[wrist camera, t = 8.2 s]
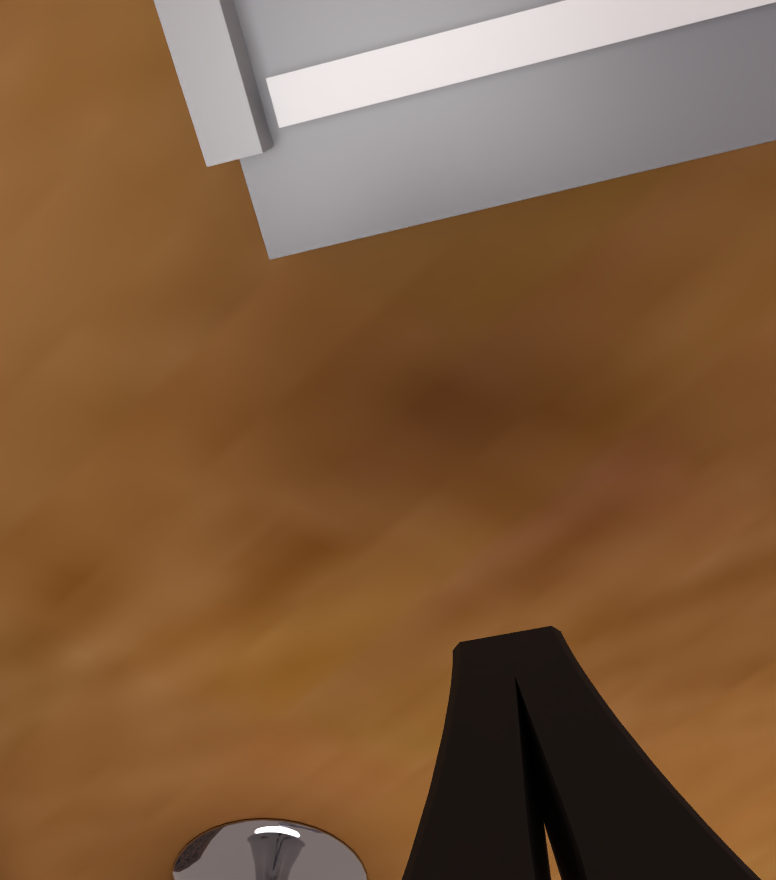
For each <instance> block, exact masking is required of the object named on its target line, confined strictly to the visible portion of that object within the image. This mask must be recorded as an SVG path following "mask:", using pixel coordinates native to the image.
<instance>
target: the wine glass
mask: <svg viewBox="0 0 776 880" xmlns="http://www.w3.org/2000/svg"><path fill="white" fill-rule="evenodd" d="M172 880H368V878H367V873H366V870H365V868H364V866H363V863H362V862H361V860H360V859H359V858H358V856H357V855H356V854H355V852H354V851H353V850H351V849H350V848H349V847H348V846H347V845H346V844H345V843H344V842H342V841H340V840H339V839H337V838H336V837H334V836H332V835H331V834H329V833H326V832H324V831H322V830H320V829H317V828H315V827H312V826H308V825H305V824H301V823H297V822H291V821H286V820H276V819H252V820H242V821H237V822H232V823H227V824H224V825H221V826H218V827H215V828H212V829H210V830H208V831H206V832H204V833H202V834H200V835H199V836H197V837H196V838H195V839H193V840H192V841H191V842H189V843H188V844H187V845H186V846H185V847H184V848H183V850H182V851H181V852H180V853H179V855H178V857H177V859H176V861H175V862H174V866H173V870H172Z"/></svg>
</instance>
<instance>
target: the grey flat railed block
mask: <svg viewBox="0 0 776 880" xmlns="http://www.w3.org/2000/svg"><path fill="white" fill-rule="evenodd" d="M154 3H155V6H156V9H157V12H158V15H159V18H160V22H161V25H162V28H163V31H164V34H165V37H166V40H167V43H168V47H169V50H170V53H171V56H172V59H173V62H174V65H175V69H176V72H177V75H178V78H179V81H180V84H181V87H182V90H183V94H184V97H185V100H186V103H187V106H188V109H189V112H190V115H191V119H192V122H193V125H194V128H195V131H196V134H197V137H198V141H199V144H200V147H201V150H202V153H203V156H204V159H205V162H206V166H207V167H209V166H213V165H217V164H221V163H225V162H229V161H232V160H236V159H239V160H240V163H241V166H242V170H243V173H244V176H245V180H246V183H247V186H248V190H249V193H250V196H251V200H252V203H253V206H254V210H255V213H256V216H257V220H258V223H259V226H260V230H261V233H262V236H263V240H264V243H265V246H266V250H267V253H268V256H269V260H271V259H275V258H279V257H283V256H287V255H292V254H296V253H300V252H304V251H309V250H313V249H317V248H321V247H326V246H330V245H334V244H338V243H342V242H347V241H351V240H355V239H359V238H364V237H368V236H372V235H376V234H381V233H385V232H389V231H393V230H397V229H402V228H406V227H410V226H414V225H419V224H423V223H427V222H431V221H436V220H440V219H444V218H448V217H452V216H457V215H461V214H465V213H469V212H474V211H478V210H482V209H486V208H491V207H495V206H499V205H503V204H507V203H512V202H516V201H520V200H524V199H529V198H533V197H537V196H541V195H545V194H550V193H554V192H558V191H562V190H567V189H571V188H575V187H579V186H584V185H588V184H592V183H596V182H600V181H605V180H609V179H613V178H617V177H622V176H626V175H630V174H634V173H639V172H643V171H647V170H651V169H655V168H660V167H664V166H668V165H672V164H677V163H681V162H685V161H689V160H694V159H698V158H702V157H706V156H710V155H715V154H719V153H723V152H727V151H732V150H736V149H740V148H744V147H748V146H753V145H757V144H761V143H765V142H770V141H774V140H776V0H154Z"/></svg>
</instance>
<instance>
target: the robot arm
mask: <svg viewBox="0 0 776 880" xmlns="http://www.w3.org/2000/svg"><path fill="white" fill-rule="evenodd" d="M544 824H545V827H546V831H547V834H548V837H549V840H550V844H551V847H552V850H553V853H554V857H555V860H556V863H557V866H558V870H559V873H560V876H561V879H562V880H761V879H760V878H759V877H758V876H757V875H756V874H755V873H754V872H753V871H752V870H751V869H750V868H749V867H748V866H747V865H746V864H745V863H744V862H743V861H742V860H741V859H740V858H739V857H738V856H737V855H736V854H735V853H734V852H733V851H732V850H731V849H730V848H729V847H728V846H727V845H726V844H725V843H724V842H723V840H722V839H721V838H720V837H719V836H718V835H717V834H716V833H715V832H714V831H713V830H712V829H711V828H710V827H709V826H708V825H707V823H706V822H705V821H704V820H703V819H702V818H701V817H700V816H699V815H698V813H697V812H696V811H695V810H694V809H693V808H692V807H691V806H690V805H689V803H688V802H687V801H686V800H685V799H684V798H683V797H682V796H681V795H680V793H679V792H678V791H677V790H676V789H675V788H674V787H673V786H672V784H671V783H670V782H669V781H668V780H667V779H666V777H665V776H664V775H663V774H662V773H661V772H660V770H659V769H658V768H657V767H656V766H655V765H654V763H653V762H652V761H651V760H650V758H649V757H648V756H647V755H646V753H645V752H644V751H643V750H642V748H641V747H640V746H639V745H638V744H637V742H636V741H635V740H634V739H633V737H632V736H631V735H630V734H629V732H628V731H627V730H626V729H625V727H624V726H623V725H622V724H621V722H620V721H619V720H618V718H617V717H616V716H615V714H614V713H613V712H612V710H611V709H610V708H609V706H608V705H607V704H606V702H605V701H604V700H603V698H602V697H601V695H600V694H599V693H598V691H597V690H596V688H595V687H594V685H593V684H592V683H591V681H590V680H589V678H588V677H587V675H586V674H585V672H584V671H583V669H582V668H581V666H580V665H579V663H578V661H577V660H576V658H575V657H574V655H573V653H572V652H571V650H570V648H569V646H568V645H567V643H566V641H565V639H564V637H563V635H562V633H561V631H559V630H557V629H556V628H554V627H552V626H548V627H542V628H537V629H531V630H526V631H520V632H514V633H509V634H503V635H498V636H492V637H486V638H481V639H475V640H470V641H464V642H460V643H459V644H458V645H457V646H456V647H455V648H454V650H453V668H452V679H451V688H450V695H449V702H448V708H447V713H446V719H445V724H444V730H443V734H442V739H441V743H440V747H439V752H438V756H437V760H436V765H435V769H434V773H433V777H432V782H431V786H430V789H429V793H428V797H427V800H426V804H425V807H424V810H423V814H422V817H421V820H420V824H419V827H418V830H417V834H416V837H415V840H414V844H413V847H412V850H411V854H410V857H409V860H408V863H407V866H406V869H405V872H404V875H403V878H402V880H551V875H550V867H549V859H548V852H547V844H546V836H545V828H544Z"/></svg>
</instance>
